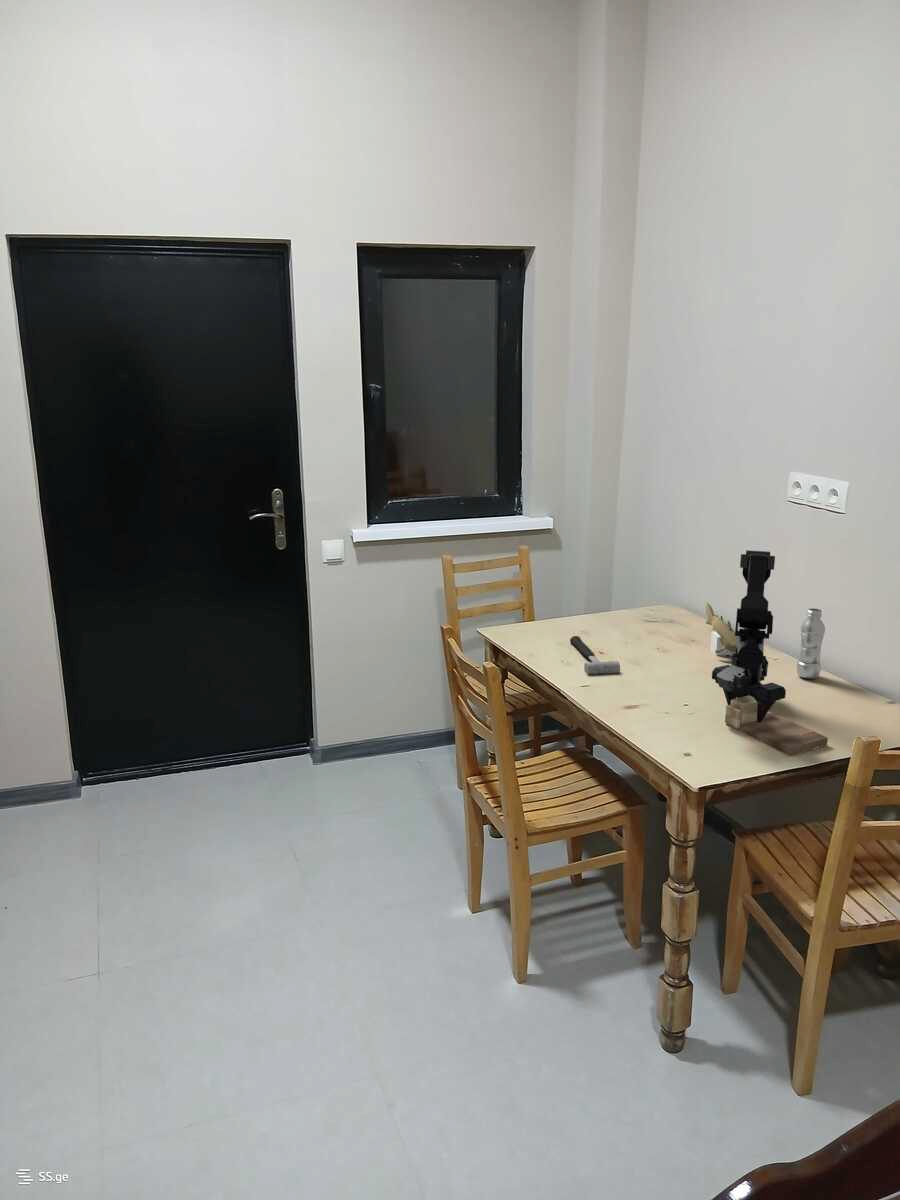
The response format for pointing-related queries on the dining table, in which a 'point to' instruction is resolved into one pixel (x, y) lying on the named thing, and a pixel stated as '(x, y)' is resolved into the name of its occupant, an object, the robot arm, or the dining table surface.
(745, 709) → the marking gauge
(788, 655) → the dining table surface
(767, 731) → the walnut board
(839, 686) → the dining table surface
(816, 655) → the plastic bottle
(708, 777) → the dining table surface
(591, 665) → the rubber mallet
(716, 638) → the wood carving
